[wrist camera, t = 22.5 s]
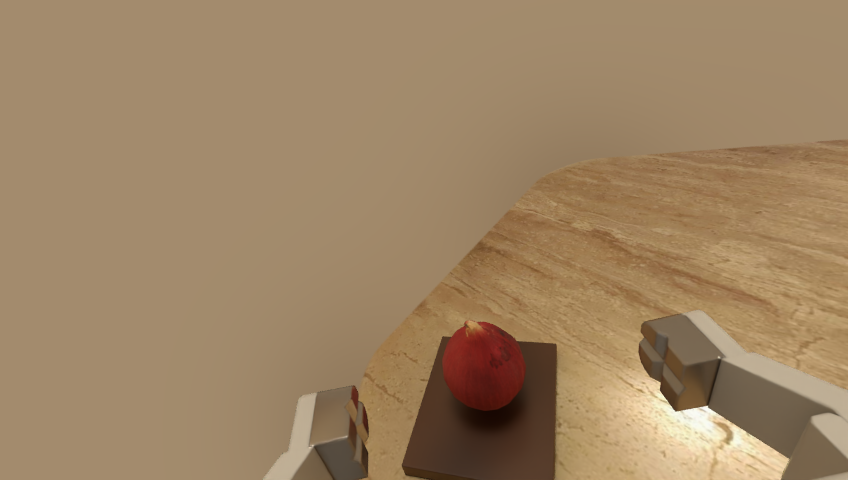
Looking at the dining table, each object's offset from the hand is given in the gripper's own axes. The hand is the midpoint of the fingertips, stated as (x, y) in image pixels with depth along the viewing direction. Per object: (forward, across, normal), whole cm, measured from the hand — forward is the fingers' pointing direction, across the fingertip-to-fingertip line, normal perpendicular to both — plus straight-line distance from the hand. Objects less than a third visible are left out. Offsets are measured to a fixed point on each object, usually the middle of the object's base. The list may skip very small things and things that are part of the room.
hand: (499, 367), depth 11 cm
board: (+12, 0, +19) cm, 22 cm away
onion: (+12, -1, +18) cm, 22 cm away
